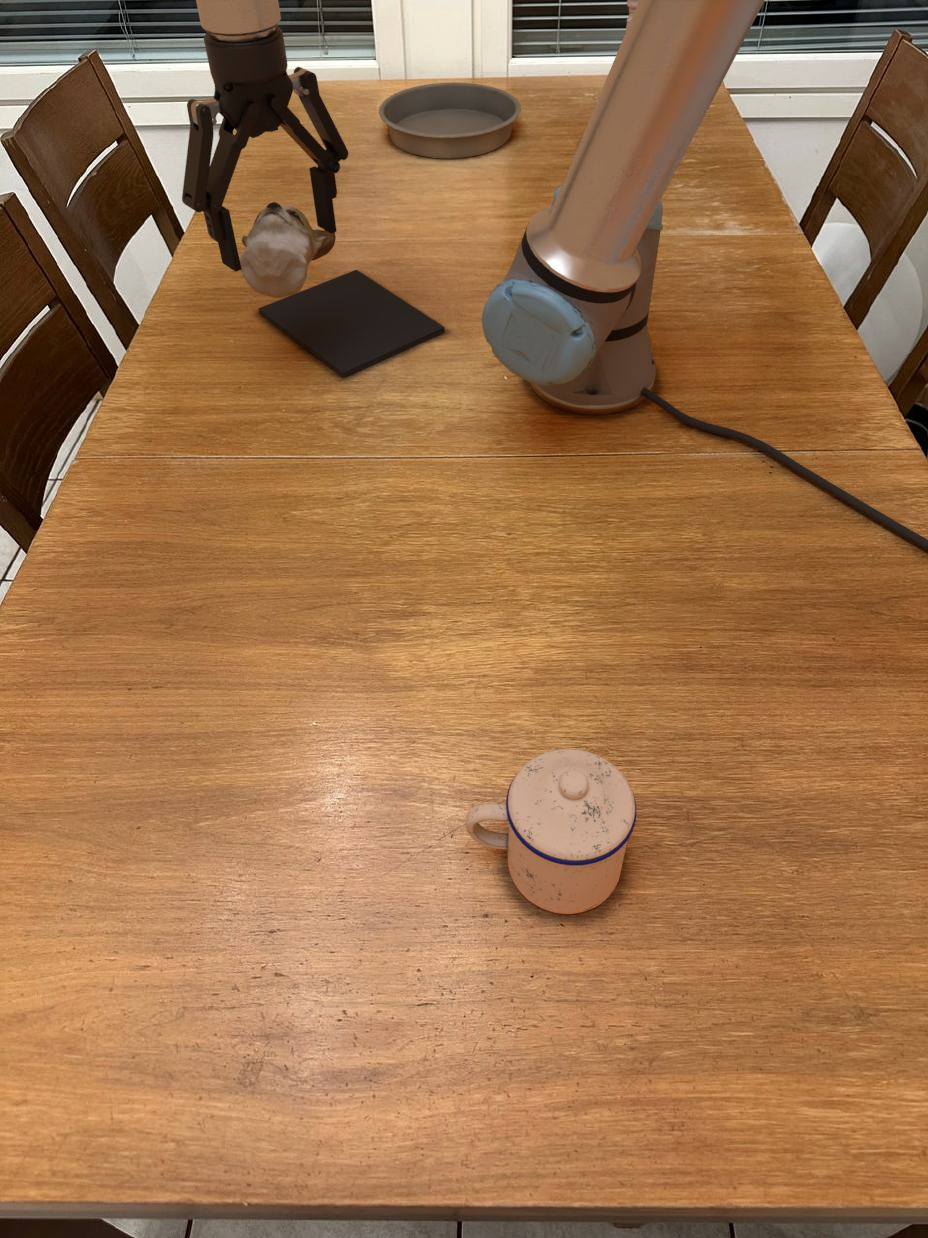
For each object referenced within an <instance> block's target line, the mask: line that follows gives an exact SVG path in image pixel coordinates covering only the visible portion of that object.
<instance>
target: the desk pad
mask: <svg viewBox="0 0 928 1238" xmlns="http://www.w3.org/2000/svg"><path fill="white" fill-rule="evenodd" d="M258 313H259V315H260V316H262V317H263V318H264V319H266V320H267V321H268V322H270V323H271V324H272V325H273V326H275V327H276V328H277V329H278V330H280V331H281V332H282V333H284V334H285V335H286V336H288V337H289V338H290V339H292V340H293V341H294V342H295V343H297V344H298V345H299V346H301V347H302V348H303V349H305V350H306V351H308V352H309V353H310V354H311V355H313V356H314V357H315V358H316V359H318V360H319V361H321V362H322V363H323V364H324V365H325V366H327V367H328V368H330V369H331V370H332V371H334V373H336V374H337V375H339V376H340V377H341V378H343V379H344V378H347V377H349V376H351V375H354V374H356V373H358V372H360V371H362V370H365V369H367V368H369V367H371V366H374V365H375V364H377V363H379V362H382V361H385V360H387V359H389V358H391V357H393V356H395V355H398V354H400V353H402V352H405V351H407V350H410V349H411V348H414V347H415V346H418V345H420V344H422V343H424V342H426V341H429V340H432V339H433V338H436V337H437V336H440V335H443V334H444V333H445V326H444V325H442V324H440V323H439V322H437V321H436V320H435V319H433V318H431V317H430V316H428V315H427V314H425V313H424V312H422V311H420V310H419V309H417V308H416V307H414V306H413V305H412V304H410V303H409V302H407V301H405V300H403V299H402V298H401V297H400V296H398V295H396V294H395V293H394V292H391V291H390V290H389V289H388V288H385V287H384V286H383V285H381V284H379V282H376V281H375V280H374V279H372V278H370V277H369V276H367V275H366V274H364V273H362V272H361V271H359V270H358V269H353V270H352V271H349V272H347V273H344V274H342V275H339V276H337V277H333V278H331V279H329V280H326V281H324V282H321V283H319V284H317V285H314V286H312V287H308V288H307V289H304V290H301V291H298V292H297V293H296V294H293V295H288V296H285V297H283V298H280V299H279V300H276V301H274V302H270V303H269V304H266V305H264V306H260V307H258Z"/></svg>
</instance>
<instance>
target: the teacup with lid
mask: <svg viewBox="0 0 928 1238" xmlns="http://www.w3.org/2000/svg"><path fill="white" fill-rule="evenodd" d="M635 797H636V796H635V795H634V792H633V789H632V787H631V785H630V783H629V782H628V780H627V778H626V777H625V775H624V774H623V773H622V772H621V770H619V769H618V767H616V766H615V765H614V764H613V763H611V762H610V761H609V760H607V759H605V758H604V757H602V756H600V755H598V754H595V753H593V752H590V751H586V750H583V749H577V748H576V749H575V748H560V749H554V750H550V751H546V752H544V753H541V754H539V755H537V756H535V757H533V758H531V759H530V760H528V761H527V762H526V763H525V764H524V765H522V766H521V768H520V769H519V770H518V771H517V773H516V774H515V775H514V777H513V778H512V780H511V782H510V783H509V787H508V790H507V794H506V798H505V799H506V800H505V803H483V804H479V805H476V806H474V807H472V808H471V809H470V810H468V812H467V814H466V818H465V830H466V832H467V834H468V836H469V837H471V838H472V840H474V841H475V842H476V843H478V844H479V845H482V846H485V847H487V848H492V849H497V850H507V867H508V871H509V875H510V877H511V880H512V881H513V883H514V885H515V887H516V889H517V890H518V891H519V892H520V893H521V894H522V896H524V898H525V899H526V900H528V901H529V902H530V903H531V904H533V905H535V906H537V907H538V908H540V909H541V910H545V911H548V912H551V913H555V914H561V915H573V914H579V913H584V912H587V911H589V910H592V909H594V908H596V907H598V906H600V905H601V904H602V903H604V902H605V901H606V900H607V899H608V898H609V897H610V896H611V895H612V893H613V892H614V890H615V889H616V887H617V885H618V882H619V880H620V875H621V874H622V873H621V872H622V868H623V863H624V859H625V854H626V850H627V846H628V841H629V839H630V838H631V835H632V833H633V831H634V828H635V826H636V821H637V802H636V798H635ZM487 821H498V822H508V832H507V833H506V832H498V831H493V830H489V829H487V828H485V827H483V826H482V825H481V824H480V823H482V822H487Z"/></svg>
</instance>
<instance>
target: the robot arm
mask: <svg viewBox="0 0 928 1238" xmlns="http://www.w3.org/2000/svg"><path fill="white" fill-rule="evenodd" d="M765 1H766V0H639V2H638V5H637V7H636V10H635V12H634V14H633V17H632V19H631V21H630V24H629V26H628V29H627V31H626V30H625V34H624V36H623V38H622V41H621V43H620V45H619V48H618V50H617V53H616V55H615V57H614V59H613V62H612V65H611V67H610V69H609V71H608V74H607V76H606V78H605V81H604V83H603V86H602V88H601V91H600V93H599V96H598V98H597V101H596V103H595V105H594V108H593V110H592V113H591V115H590V117H589V119H588V122H587V124H586V127H585V129H584V132H583V133H582V136H581V138H580V141H579V144H578V146H577V148H576V151H575V153H574V154H573V158H572V160H571V162H570V165H569V167H568V170H567V172H566V174H565V177H564V179H563V182H562V183H561V185H560V186H559V187H557V188H556V189H555V191H554V194H553V199H552V204H551V205H550V207H547V208H543V209H541V210H538V211H536V212H535V213H534V214H533V215H532V216H531V218H530V220H529V221H528V224H527V226H526V228H525V231H524V233H523V236H522V238H521V240H520V243H519V246H518V247H517V250H516V253H515V256H514V258H513V260H512V263H511V265H510V267H509V269H508V271H507V273H506V275H505V277H504V278H503V280H502V281H501V282H499V283H497V285H495V286H494V287H493V289H492V290H491V291H490V292H489V296H488V297H487V300H486V302H485V304H484V307H483V310H482V314H481V315H482V316H481V326H482V332H483V335H484V339H485V341H486V343H487V344H488V345H489V346H490V348H491V352H492V354H493V355H494V357H495V358H496V359H497V361H499V362H500V364H501V365H502V366H503V367H504V368H506V369H507V370H508V371H509V372H511V373H512V374H513V375H515V376H516V377H518V378H520V379H522V380H524V381H527V382H529V385H530V387H531V388H532V390H533V392H534V393H535V394H536V395H537V396H538V397H539V398H540V399H541V400H542V401H544V402H546V403H548V404H549V405H551V406H553V407H555V408H558V409H560V410H564V411H567V412H570V413H575V414H582V415H598V416H599V415H611V414H616V413H621V412H625V411H627V410H629V409H632V408H635V407H636V406H638V405H640V404H642V403H643V402H644V401H645V400H646V399H647V400H648V401H650V402H652V403H653V404H655V405H656V406H658V407H659V408H661V409H662V410H664V412H666V413H667V414H669V415H670V416H671V417H673V418H675V419H676V420H678V421H679V422H681V423H683V424H685V425H688V426H689V427H693V428H695V429H698V430H701V431H704V432H706V433H710V434H715V435H719V436H722V437H724V438H725V437H726V438H729V439H732V440H735V441H739V442H741V443H744V444H746V445H748V446H750V447H753V448H754V449H756V450H759V451H761V452H763V453H764V454H767V455H768V456H770V457H771V458H773V459H774V460H776V461H777V462H779V463H780V464H782V465H784V466H786V467H787V468H788V469H790V470H792V471H793V472H795V473H796V474H798V475H800V476H801V477H803V478H804V479H806V480H807V481H809V482H810V483H813V484H815V485H816V486H818V487H819V488H821V489H823V490H824V491H826V492H827V493H829V494H831V495H832V496H834V497H836V498H838V499H839V500H841V501H842V502H844V503H846V504H848V505H849V506H851V507H853V508H854V509H856V510H858V511H859V512H861V513H863V514H864V515H865V516H868V517H869V518H871V519H873V520H874V521H876V522H877V523H879V524H881V525H883V526H884V527H886V528H887V529H889V530H891V531H893V532H894V533H896V534H898V535H899V536H901V537H903V538H904V539H906V540H908V541H910V543H911V542H912V543H913V544H915V545H916V546H918V547H920V548H921V549H924V550H925V551H927V552H928V538H926V537H924V536H922V535H920V534H918V533H917V532H915V531H913V530H912V529H910V528H909V527H906V526H905V525H903V524H901V523H899V522H898V521H896V520H894V519H893V518H891V517H889V516H887V515H886V514H884V513H882V512H881V511H879V510H878V509H876V508H874V507H872V506H870V505H869V504H867V503H865V502H864V501H862V500H861V499H859V498H858V497H855V496H854V495H852V494H851V493H849V492H847V491H845V490H844V489H842V488H841V487H839V486H837V485H835V484H834V483H832V482H830V481H829V480H828V479H826V478H824V477H822V476H820V475H819V474H817V473H815V472H813V471H812V470H810V469H809V468H807V467H806V466H804V465H802V464H800V462H799V463H798V461H796V460H795V459H793V458H791V457H790V456H788V455H787V454H785V453H783V452H782V451H780V450H779V449H777V448H776V447H773V446H771V445H770V444H768V443H766V442H764V441H763V440H760V439H759V438H756V437H753V436H751V435H749V434H747V433H744V432H741V431H739V430H735V429H731V428H728V427H725V426H721V425H717V424H713V423H710V422H706V421H703V420H700V419H697V418H695V417H693V416H691V415H688V414H686V413H684V412H682V411H681V410H679V409H678V408H676V407H675V406H674V405H673V404H671V403H670V402H668V401H667V400H665V399H664V398H662V397H661V396H659V395H657V394H656V393H655V392H653V390H654V388H655V387H654V386H655V381H656V376H657V372H656V371H657V366H656V365H657V363H656V358H655V356H654V354H653V352H652V342H651V336H650V331H649V325H648V323H649V322H648V321H649V316H650V315H649V314H650V307H651V301H652V294H653V287H654V286H653V285H654V280H655V273H656V268H657V267H656V266H657V260H658V252H659V245H660V240H661V239H660V238H661V231H663V227H664V226H663V211H664V210H663V209H664V206H663V201H662V199H663V197H664V195H665V194H666V191H667V189H668V187H669V185H670V183H671V181H672V180H673V177H674V176H675V174H676V172H677V170H678V168H679V166H680V164H681V162H682V160H683V159H684V156H685V155H686V152H687V151H688V149H689V148H690V145H691V143H692V141H693V139H694V138H695V135H696V133H697V131H698V130H699V127H700V126H701V124H702V122H703V120H704V118H705V116H706V114H707V112H708V110H709V108H710V106H711V104H712V102H713V101H714V99H715V97H716V95H717V93H718V91H719V89H720V88H721V86H722V83H723V82H724V80H725V78H726V76H727V73H728V72H729V70H730V69H731V66H732V64H733V62H734V60H735V58H736V56H737V55H738V53H739V51H740V49H741V47H742V45H743V43H744V41H745V39H746V38H747V36H748V34H749V32H750V30H751V28H752V26H753V24H754V22H755V19H756V18H757V16H758V14H759V12H760V11H761V8H763V4H764V3H765ZM195 3H196V7H197V12H198V17H199V21H200V22H199V23H200V26H201V28H202V29H203V30H204V31H205V32H206V33H205V35H204V37H203V43H204V47H205V52H206V57H207V61H208V66H209V67H208V68H209V71H210V75H211V77H212V81H213V84H214V94H213V98H210V99H206V100H201V101H198V100H196V99H195V98H191V99H189V100H188V101H187V103H186V108H187V109H186V110H187V114H188V120H189V125H190V126H189V134H188V141H187V151H186V160H185V169H184V177H183V185H182V194H181V195H182V196H181V201H182V204H184V205H185V206H187V207H188V208H190V209H192V210H193V211H194V212H196V213H202V212H203V216H204V220H205V226H206V229H207V233H208V236H210V238H211V240H212V241H215V242H217V245H218V250H219V253H220V257H221V263H222V264H223V265H225V266H226V267H227V268H228V269H231V270H232V271H234V272H235V273H237V272H239V271H241V270H242V269H241V264H240V254H239V251H238V245H237V241H236V236H235V231H234V228H233V222H232V217H231V212H230V209H229V208H227V207H225V206H223V204H224V201H225V199H226V196H227V192H228V190H229V187H230V184H231V181H232V179H233V175H234V173H235V170H236V167H237V164H238V162H239V160H240V159H239V158H240V156H241V153H242V150H244V149H245V148H246V147H247V145H248V142H249V139H250V138H252V139H255V138H258V137H260V136H262V135H263V134H264V133H274V132H276V131H279V128H280V127H281V129H283V130H284V132H286V134H288V136H289V137H290V138H291V139H292V140H293V141H294V142H295V143H296V144H297V145H298V146H299V148H300V149H302V151H303V152H304V153H305V154H306V155H307V156H308V157H309V158H310V159H311V160H312V161H313V162H314V163H315V164H316V165H317V166H312V167H309V169H308V170H309V175H310V182H311V189H312V196H313V204H314V210H315V211H314V212H315V217H316V223H317V227H319V228H320V229H321V230H323V231H324V230H326V231H327V232H329V233H331V234H332V233H334V232H335V233H337V225H336V224H337V223H336V217H335V216H336V215H335V208H334V202H333V201H334V199H336V198H337V195H338V189H337V188H338V187H337V180H336V174H337V173H338V172H340V169H341V164H340V161H345V160H347V159H348V157H349V150H348V148H347V146H346V144H345V142H344V140H343V138H342V136H341V134H340V131H338V128H337V126H336V125H335V123H334V120H333V118H332V117H331V114H330V112H329V110H328V108H327V106H326V104H325V102H324V100H323V99H322V97H321V94H320V89H319V83H318V77H317V75H316V73H314V72H312V71H310V70H308V69H306V68H304V67H301V66H296V67H295V69H293V73H291V74H288V71H287V70H288V58H287V53H286V43H285V38H284V32H283V29H282V28H280V26H279V25H278V24H279V23H280V22H281V20H282V15H281V9H280V2H279V0H195ZM293 93H294V94H295V95H297V96H298V98H299V101H300V102H301V104H302V106H303V108H304V110H305V112H306V114H307V115H308V118H309V119H310V122H311V124H312V125H313V127H314V129H315V132H316V133H317V135H318V137H319V138H320V140H321V142H322V145H323V146H324V147H323V146H322V145H321V144H320V142H318V140H317V139H316V138H315V137H314V136H313V135H312V134H311V132H309V130H307V128H306V127H305V126H304V125H303V124H302V123H301V120H300V119H299V117H297V116H296V115H295V114H294V112H293V111H292V110H291V109H290V108H289V104H290V101H291V98H292V95H293ZM218 114H220V116H222V117H223V118H222V120H221V124H220V126H219V129H218V137H219V138H218V141H217V144H216V147H215V150H214V152H213V156H212V151H213V143H214V134H215V133H214V126H215V125H217V122H218V120H217V116H218ZM234 130H236V132H235V134H234Z"/></svg>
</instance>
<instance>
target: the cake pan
mask: <svg viewBox="0 0 928 1238" xmlns="http://www.w3.org/2000/svg"><path fill="white" fill-rule="evenodd" d="M521 112H522V106H521V102H520V101H519V100H518V99H517V97H515V96H514V95H512V94H511V93H509V92H508V91H505V90H503V89H500V88H497V87H493V86H490V85H486V84H479V83H471V82H437V83H436V82H435V83H428V84H421V85H417V86H412V87H409V88H406V89H405V88H404V89H402V90H400V91H398V92H395V93H394V94H392V95H390V96H388V97H387V98H385V99H384V101H382V103H381V104H380V105H379V108H378V115H379V118H380V120H381V121H382V122H383V123H384V124H385V125H386V128H387V131H388V135H389V137H390V141H391V142H392V143H393V144H394V146H396V147H397V148H399V149H400V150H402V151H404V152H407V153H409V154H412V155H416V156H418V157H419V156H420V157H424V158H432V159H463V158H471V157H475V156H480V155H484V154H488V153H490V152H492V151H495V150H497V149H499V148H500V147H502V146H503V145H505V144H506V143H507V142H508V141H509V139H510V137H511V134H512V131H513V126H514V122H515V121H517V119H518V117H519V116H520V114H521Z"/></svg>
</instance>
